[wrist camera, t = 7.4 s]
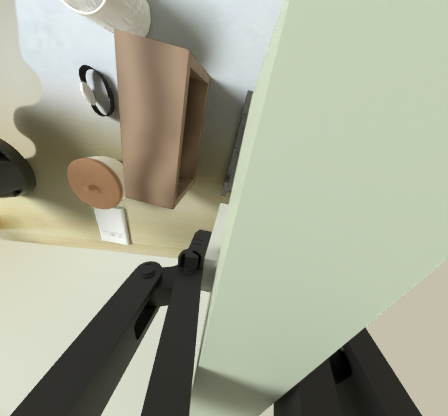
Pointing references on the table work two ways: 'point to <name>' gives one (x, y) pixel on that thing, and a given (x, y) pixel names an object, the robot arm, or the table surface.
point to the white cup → (115, 14)
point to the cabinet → (159, 117)
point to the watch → (89, 94)
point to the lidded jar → (97, 181)
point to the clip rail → (237, 147)
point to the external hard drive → (112, 224)
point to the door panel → (327, 195)
